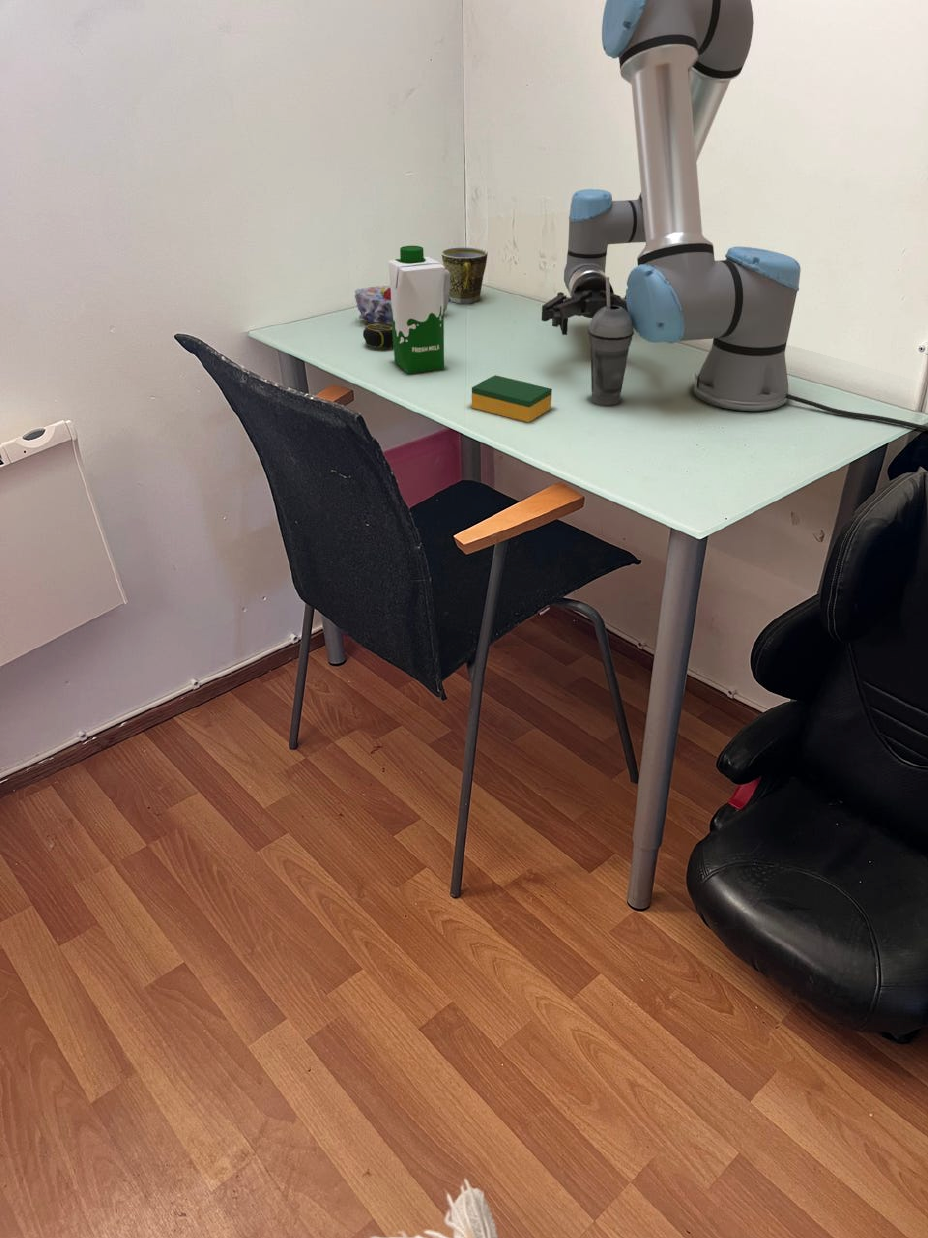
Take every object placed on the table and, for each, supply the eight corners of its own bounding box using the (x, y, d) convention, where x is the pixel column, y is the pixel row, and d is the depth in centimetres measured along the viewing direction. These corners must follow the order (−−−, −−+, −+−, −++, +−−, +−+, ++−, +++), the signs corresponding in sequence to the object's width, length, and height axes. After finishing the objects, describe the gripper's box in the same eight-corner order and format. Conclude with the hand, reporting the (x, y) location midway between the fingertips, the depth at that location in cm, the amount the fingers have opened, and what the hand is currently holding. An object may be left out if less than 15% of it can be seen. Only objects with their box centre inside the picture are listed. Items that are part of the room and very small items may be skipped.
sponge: (550, 409, 150) (552, 388, 148) (528, 422, 145) (529, 401, 143) (494, 394, 155) (495, 374, 153) (471, 407, 150) (471, 387, 148)
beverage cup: (626, 410, 150) (637, 285, 138) (581, 407, 151) (589, 283, 139) (628, 392, 155) (640, 271, 144) (585, 389, 157) (593, 269, 145)
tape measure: (406, 343, 178) (405, 323, 176) (388, 353, 173) (387, 333, 171) (376, 338, 180) (375, 319, 178) (357, 348, 175) (356, 328, 173)
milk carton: (432, 355, 172) (430, 242, 161) (451, 370, 165) (450, 254, 154) (388, 361, 169) (383, 247, 158) (405, 377, 162) (401, 258, 151)
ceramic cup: (440, 293, 207) (439, 247, 201) (483, 292, 208) (484, 246, 202) (445, 310, 196) (445, 261, 191) (491, 309, 197) (492, 260, 192)
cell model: (457, 261, 187) (389, 283, 175) (458, 314, 193) (392, 338, 181) (411, 250, 194) (342, 271, 182) (413, 302, 200) (347, 325, 188)
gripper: (655, 312, 172) (677, 349, 155) (523, 312, 172) (530, 348, 154) (660, 271, 168) (683, 303, 150) (524, 271, 168) (532, 303, 150)
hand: (606, 326), depth 152 cm, fingers open, 13 cm apart
